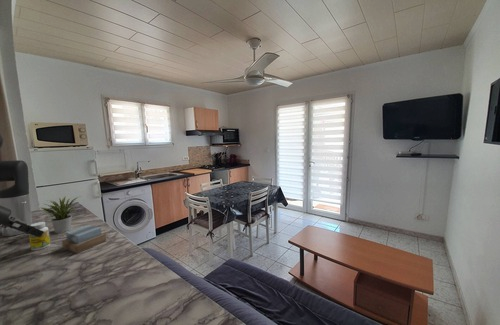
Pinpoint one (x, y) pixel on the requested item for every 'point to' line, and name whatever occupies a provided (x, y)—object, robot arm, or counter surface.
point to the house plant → (61, 215)
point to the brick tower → (83, 238)
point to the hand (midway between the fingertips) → (36, 232)
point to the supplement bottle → (41, 241)
